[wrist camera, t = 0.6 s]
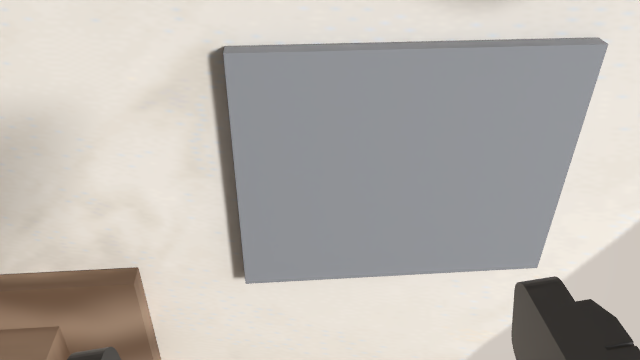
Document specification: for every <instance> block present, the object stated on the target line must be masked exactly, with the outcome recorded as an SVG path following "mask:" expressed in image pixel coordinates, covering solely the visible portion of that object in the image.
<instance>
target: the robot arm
mask: <svg viewBox="0 0 640 360" xmlns="http://www.w3.org/2000/svg"><path fill="white" fill-rule="evenodd" d="M512 344H513V349H514V353H515V356H516V360H640V350H639V349H638V347H637V346H634V344H633V341H632V339H631V337H630V336H629V335H628V333H627V332H626V331H625V329H624V328H623V326H622V325H621V324H620V322H619V321H618V319H617V318H616V317H615V316H613V315H612V314H610V313H609V312H608V311H606V310H605V309H603V308H602V307H601V306H599V305H598V304H597V303H595V302H594V301H593V300H591V299H589V300H582V301H576V302H575V301H574V299H573V297H572V296H571V295H570V293H569V291H568V290H567V288H566V287H565V285H564V284H563V282H562V281H561V280H560V279H559V278H558V277H549V278H542V279H536V280H530V281H524V282H518V283H517V284H516V286H515V292H514V306H513V321H512ZM67 360H121V358H120V356H119V354H118V352H117V351H116V349H115V348H113V347H106V348H99V349H93V350H87V351H81V352H75V353H72V354H71V355H70V356H69V357H68V359H67Z"/></svg>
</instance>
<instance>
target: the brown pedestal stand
mask: <svg viewBox="0 0 640 360" xmlns="http://www.w3.org/2000/svg"><path fill="white" fill-rule="evenodd" d="M106 347H113V348H115V349H116V351H117V352H118V354H119V356H120V358H121V360H161V357H160V353H159V349H158V345H157V341H156V337H155V333H154V329H153V325H152V321H151V317H150V313H149V309H148V305H147V301H146V297H145V293H144V289H143V285H142V281H141V277H140V273H139V269H138V268H123V269H104V270H84V271H65V272H46V273H26V274H7V275H0V360H67V359H68V357H69V356H70V355H71V354H72V353H75V352H81V351H87V350H93V349H99V348H106Z"/></svg>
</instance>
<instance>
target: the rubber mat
mask: <svg viewBox="0 0 640 360" xmlns="http://www.w3.org/2000/svg"><path fill="white" fill-rule="evenodd" d="M607 46H608V44H607V43H606V42H604V41H603V40H601V39H600V38H560V39H517V40H474V41H431V42H387V43H344V44H301V45H258V46H224V52H223V56H224V67H225V77H226V87H227V97H228V108H229V118H230V128H231V138H232V148H233V159H234V169H235V179H236V189H237V200H238V210H239V220H240V230H241V241H242V251H243V261H244V271H245V281H246V284H249V283H267V282H286V281H304V280H322V279H341V278H359V277H377V276H396V275H414V274H432V273H451V272H469V271H487V270H506V269H524V268H537V267H538V263H539V260H540V257H541V254H542V251H543V248H544V244H545V241H546V238H547V235H548V232H549V229H550V226H551V222H552V219H553V216H554V213H555V210H556V207H557V204H558V200H559V197H560V194H561V191H562V188H563V185H564V182H565V178H566V175H567V172H568V169H569V166H570V163H571V160H572V156H573V153H574V150H575V147H576V144H577V141H578V138H579V134H580V131H581V128H582V125H583V122H584V119H585V116H586V112H587V109H588V106H589V103H590V100H591V97H592V93H593V90H594V87H595V84H596V81H597V78H598V75H599V71H600V68H601V65H602V62H603V59H604V56H605V53H606V49H607Z"/></svg>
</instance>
